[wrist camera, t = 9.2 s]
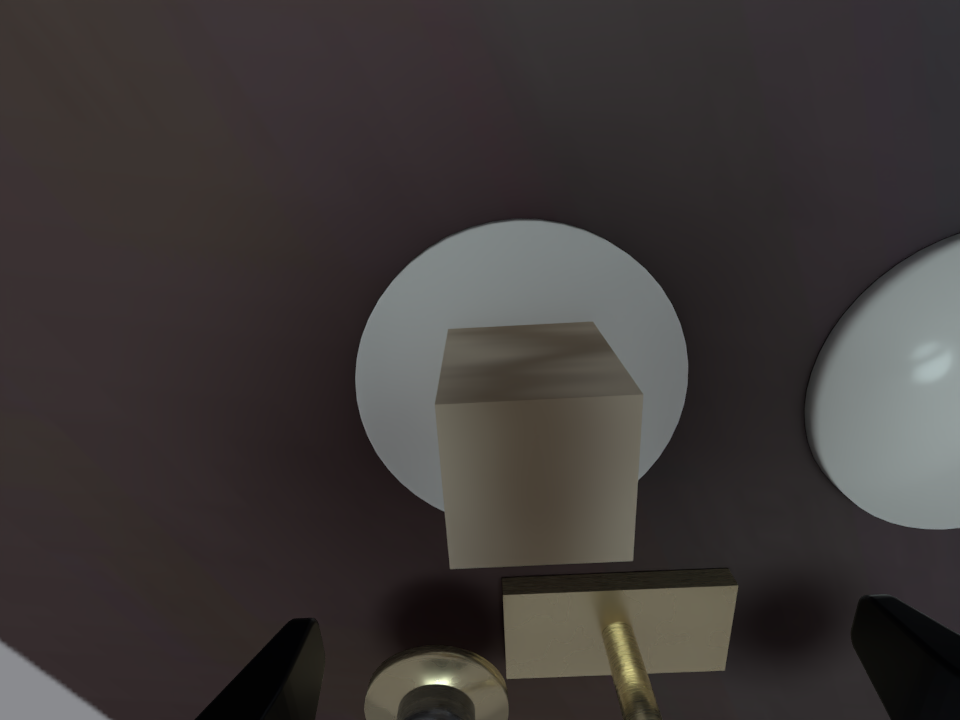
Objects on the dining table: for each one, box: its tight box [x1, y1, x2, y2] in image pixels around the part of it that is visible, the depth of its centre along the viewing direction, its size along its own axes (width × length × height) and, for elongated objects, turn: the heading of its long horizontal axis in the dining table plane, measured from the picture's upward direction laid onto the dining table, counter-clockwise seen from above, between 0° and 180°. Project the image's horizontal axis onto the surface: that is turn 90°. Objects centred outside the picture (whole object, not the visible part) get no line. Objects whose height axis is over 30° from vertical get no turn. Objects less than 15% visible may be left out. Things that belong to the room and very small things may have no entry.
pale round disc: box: [355, 218, 688, 512], centre depth 20 cm, size 12×12×1 cm
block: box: [435, 321, 643, 569], centre depth 16 cm, size 5×5×6 cm
